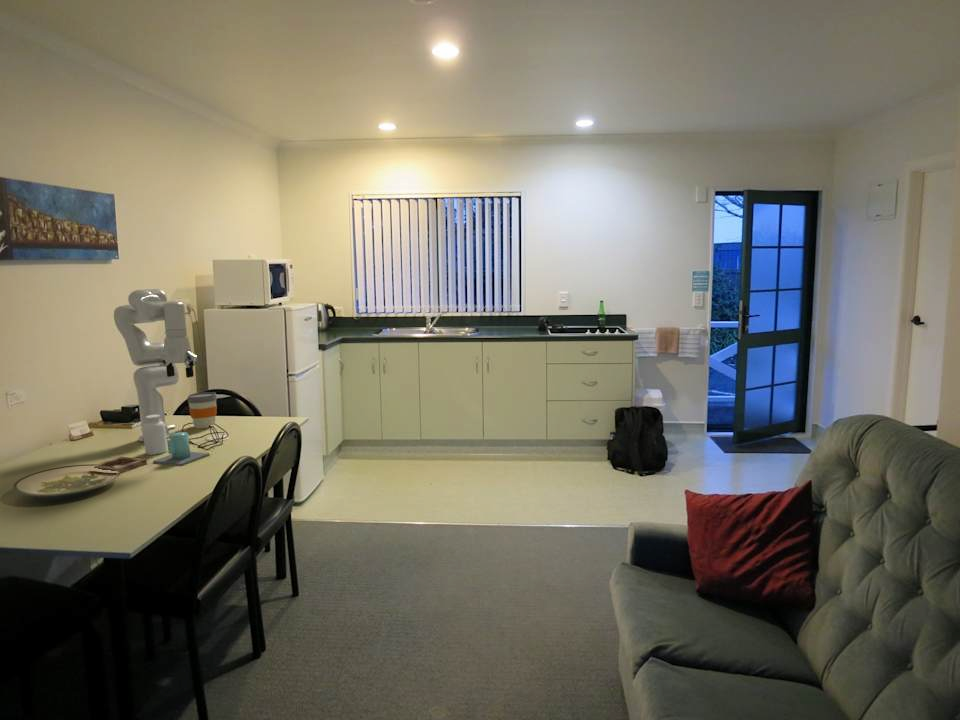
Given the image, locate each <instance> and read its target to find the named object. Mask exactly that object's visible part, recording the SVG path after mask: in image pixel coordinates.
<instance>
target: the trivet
mask: <svg viewBox="0 0 960 720" xmlns="http://www.w3.org/2000/svg"><path fill="white" fill-rule="evenodd" d="M190 455H191V456H190V457H188V458H184V459H172V454H168V455H166V456H163V457H160V458H158V459H155V460H152V463H153V464H158V465H168V466H177V467H179V466H180V467H183V466H186V465H188V464H190V463H193V462H197V461H199V460H201V459H203V458H207V457H209V456H210V453H206V452H198V451H197V452H196V451H190Z"/></svg>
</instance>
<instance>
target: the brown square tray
mask: <svg viewBox="0 0 960 720" xmlns="http://www.w3.org/2000/svg"><path fill="white" fill-rule="evenodd" d="M147 462H148V461H147V458H139V457H138V458H137V457H126V456H119V457H116V458H113V459H109V460H106V461H103V462H100V463H98V464H93V466H95V467H94V468H98V469H102V470H111V471H117V470H119V472H120V474H122V473H125V472H127V471H130V470H134V469H136V468H138V467H143V466H145V465H147V464H148V463H147ZM119 464H123V465H120V466H118V467H117V466H115V465H119ZM108 466H111V467H108Z"/></svg>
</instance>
